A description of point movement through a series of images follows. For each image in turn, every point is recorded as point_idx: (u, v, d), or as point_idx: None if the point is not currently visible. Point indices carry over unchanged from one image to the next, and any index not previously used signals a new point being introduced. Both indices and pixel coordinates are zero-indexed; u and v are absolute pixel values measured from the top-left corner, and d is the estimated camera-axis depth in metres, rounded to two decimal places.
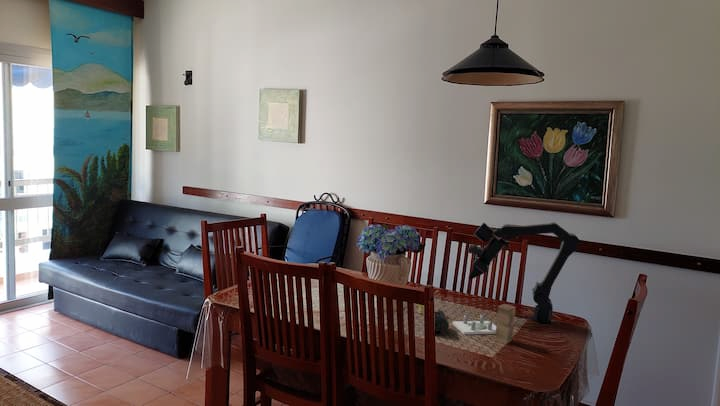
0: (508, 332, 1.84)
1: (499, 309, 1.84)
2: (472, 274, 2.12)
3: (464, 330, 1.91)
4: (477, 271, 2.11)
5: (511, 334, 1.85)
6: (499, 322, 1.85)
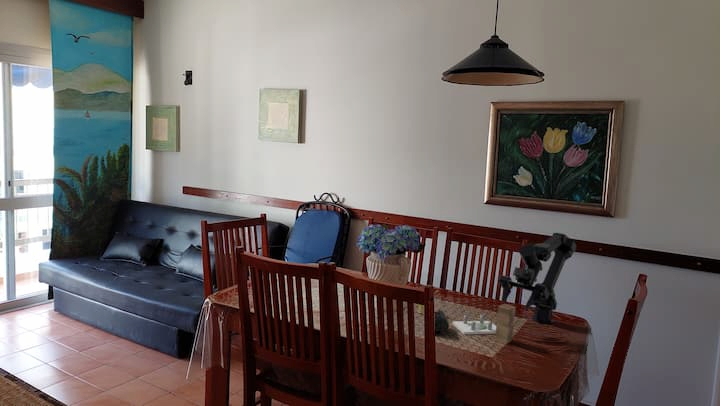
0: (508, 332, 1.84)
1: (499, 309, 1.84)
2: (531, 302, 1.86)
3: (464, 330, 1.91)
4: (534, 298, 1.88)
5: (511, 334, 1.85)
6: (499, 322, 1.85)
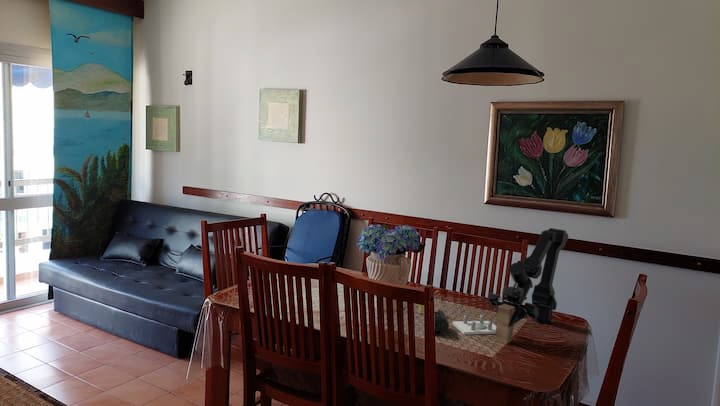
0: (508, 332, 1.84)
1: (499, 309, 1.84)
2: (514, 320, 1.83)
3: (464, 330, 1.91)
4: (518, 316, 1.85)
5: (511, 334, 1.85)
6: (499, 322, 1.85)
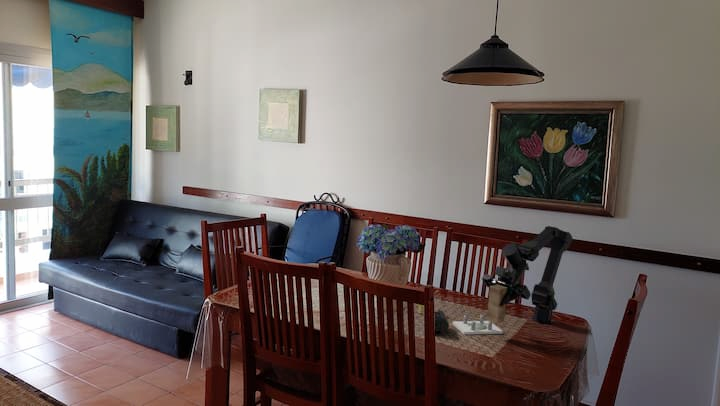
0: (499, 312, 1.86)
1: (491, 289, 1.87)
2: (505, 300, 1.85)
3: (464, 330, 1.91)
4: (510, 296, 1.86)
5: (503, 314, 1.87)
6: (491, 302, 1.87)
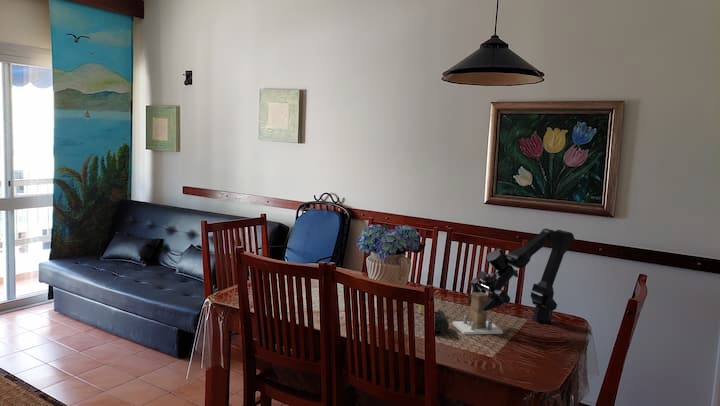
0: (479, 318, 1.94)
1: (472, 295, 1.96)
2: (489, 305, 1.91)
3: (464, 330, 1.91)
4: (494, 302, 1.91)
5: (484, 320, 1.95)
6: (472, 308, 1.96)
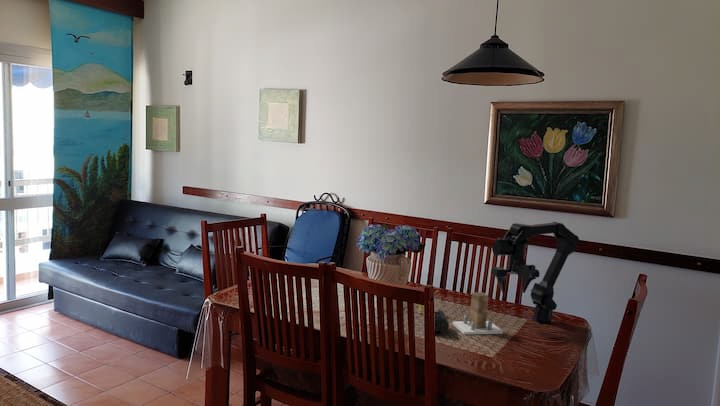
0: (479, 318, 1.94)
1: (472, 295, 1.96)
2: None
3: (464, 330, 1.91)
4: None
5: (484, 320, 1.95)
6: (472, 308, 1.96)
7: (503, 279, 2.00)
